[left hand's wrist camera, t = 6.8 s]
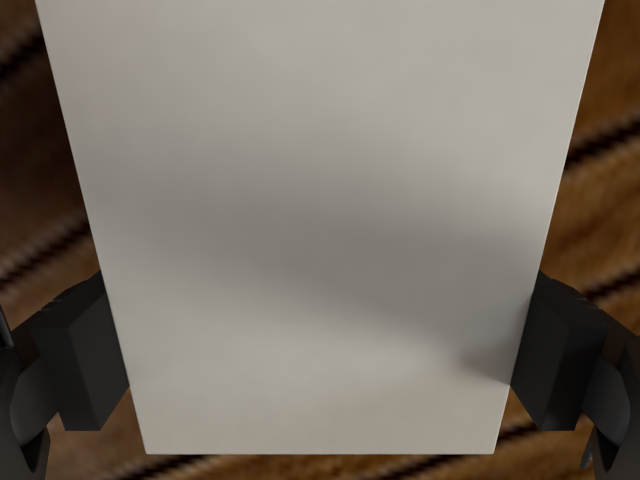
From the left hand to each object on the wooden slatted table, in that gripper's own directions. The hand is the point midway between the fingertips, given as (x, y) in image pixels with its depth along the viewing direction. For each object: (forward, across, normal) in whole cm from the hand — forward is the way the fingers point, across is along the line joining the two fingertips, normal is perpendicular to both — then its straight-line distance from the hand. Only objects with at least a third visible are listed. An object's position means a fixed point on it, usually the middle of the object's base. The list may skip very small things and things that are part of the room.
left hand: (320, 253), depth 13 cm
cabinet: (+6, 0, -6) cm, 8 cm away
